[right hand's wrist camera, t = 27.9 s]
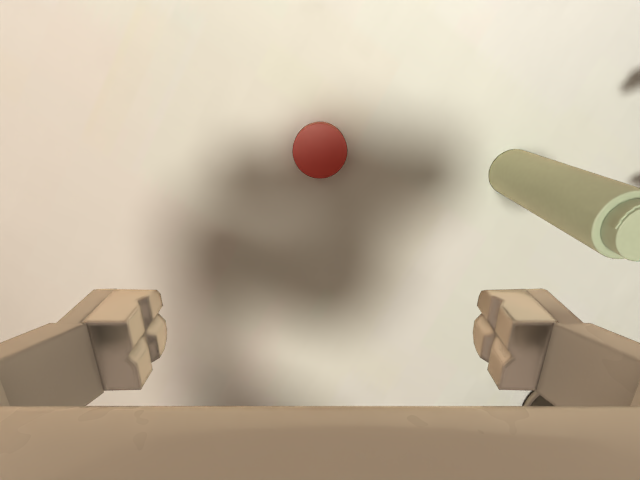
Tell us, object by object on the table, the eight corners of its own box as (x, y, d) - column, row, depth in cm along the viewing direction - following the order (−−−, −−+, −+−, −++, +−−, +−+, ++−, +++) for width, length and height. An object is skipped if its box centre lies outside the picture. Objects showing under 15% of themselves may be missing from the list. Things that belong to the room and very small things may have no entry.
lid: (289, 168, 36) (288, 172, 35) (299, 116, 34) (298, 117, 33) (339, 179, 37) (340, 183, 35) (351, 128, 35) (352, 129, 33)
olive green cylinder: (543, 156, 36) (705, 209, 21) (521, 199, 37) (658, 277, 22) (501, 143, 35) (635, 186, 20) (480, 187, 37) (592, 258, 22)
